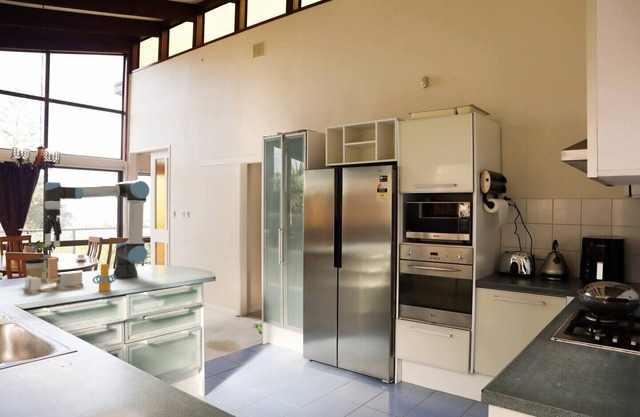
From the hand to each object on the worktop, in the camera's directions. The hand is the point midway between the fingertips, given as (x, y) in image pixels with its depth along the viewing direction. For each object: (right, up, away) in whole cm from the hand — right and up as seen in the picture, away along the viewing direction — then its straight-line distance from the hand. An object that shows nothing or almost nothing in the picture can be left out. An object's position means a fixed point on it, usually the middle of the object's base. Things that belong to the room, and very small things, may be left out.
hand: (52, 245), depth 253 cm
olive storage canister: (-21, -25, +16) cm, 36 cm away
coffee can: (-23, -25, +33) cm, 47 cm away
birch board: (0, -25, 0) cm, 25 cm away
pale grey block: (+6, -24, +7) cm, 25 cm away
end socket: (-6, -24, -7) cm, 26 cm away
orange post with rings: (+31, -26, -2) cm, 40 cm away
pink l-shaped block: (+3, -21, +4) cm, 22 cm away
